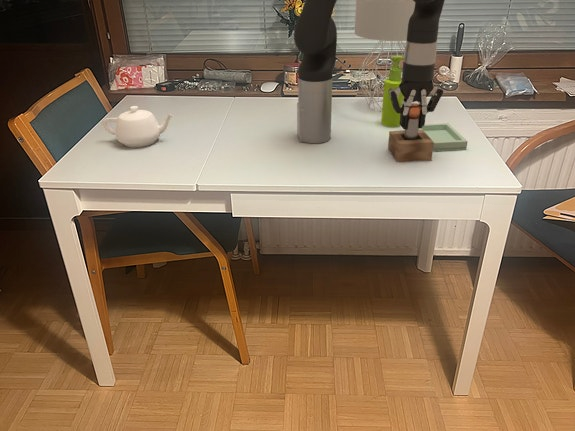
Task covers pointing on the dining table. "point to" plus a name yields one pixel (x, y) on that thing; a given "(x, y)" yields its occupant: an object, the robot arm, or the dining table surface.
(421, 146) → the hitch block
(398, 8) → the table lamp
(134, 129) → the teapot
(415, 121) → the grey and copper cylinder
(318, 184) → the dining table surface
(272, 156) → the dining table surface
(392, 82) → the soap dispenser
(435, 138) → the tray
